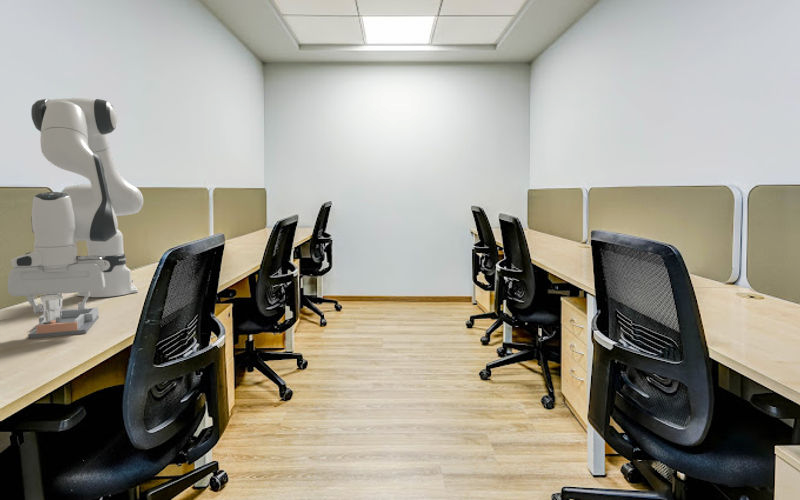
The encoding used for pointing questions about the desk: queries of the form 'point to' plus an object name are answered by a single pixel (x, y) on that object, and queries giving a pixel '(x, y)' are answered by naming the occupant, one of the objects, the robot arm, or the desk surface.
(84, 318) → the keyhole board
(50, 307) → the milkshake
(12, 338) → the desk surface
